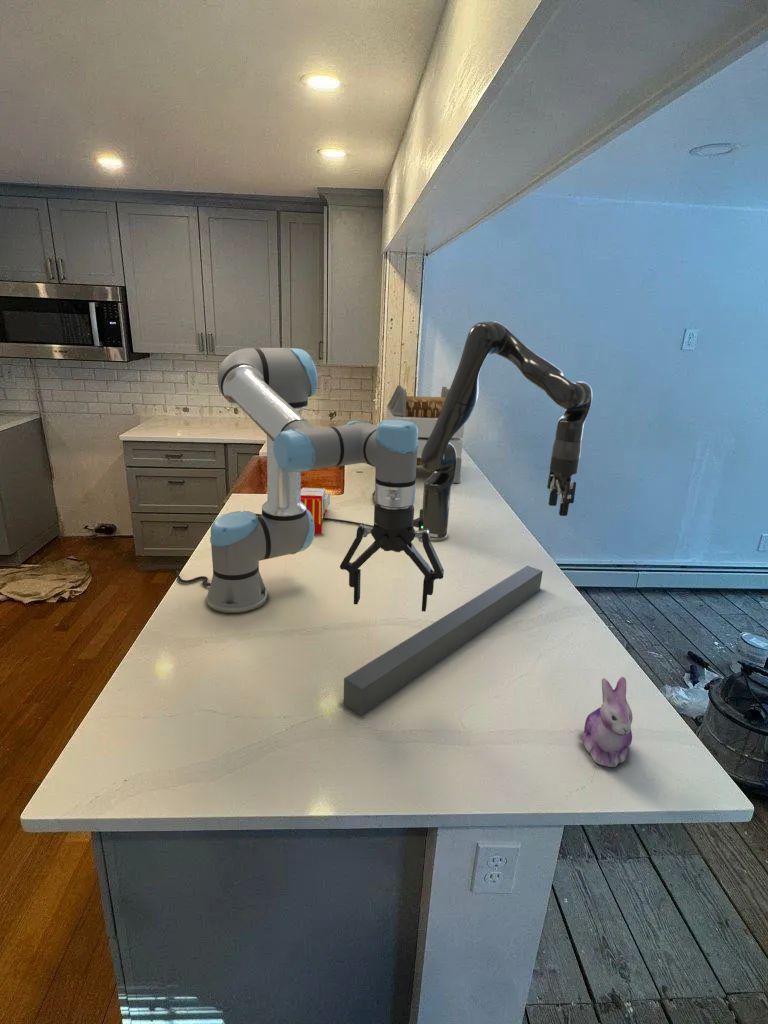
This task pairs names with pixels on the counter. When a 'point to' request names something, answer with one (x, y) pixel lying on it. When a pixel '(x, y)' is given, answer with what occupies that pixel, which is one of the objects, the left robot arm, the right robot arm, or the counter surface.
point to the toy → (316, 505)
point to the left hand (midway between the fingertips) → (390, 604)
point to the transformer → (423, 419)
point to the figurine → (609, 726)
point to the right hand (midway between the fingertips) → (557, 510)
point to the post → (436, 641)
